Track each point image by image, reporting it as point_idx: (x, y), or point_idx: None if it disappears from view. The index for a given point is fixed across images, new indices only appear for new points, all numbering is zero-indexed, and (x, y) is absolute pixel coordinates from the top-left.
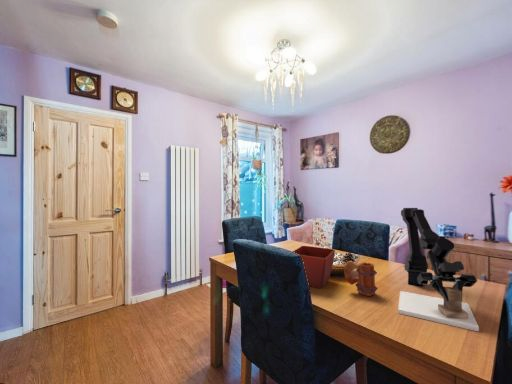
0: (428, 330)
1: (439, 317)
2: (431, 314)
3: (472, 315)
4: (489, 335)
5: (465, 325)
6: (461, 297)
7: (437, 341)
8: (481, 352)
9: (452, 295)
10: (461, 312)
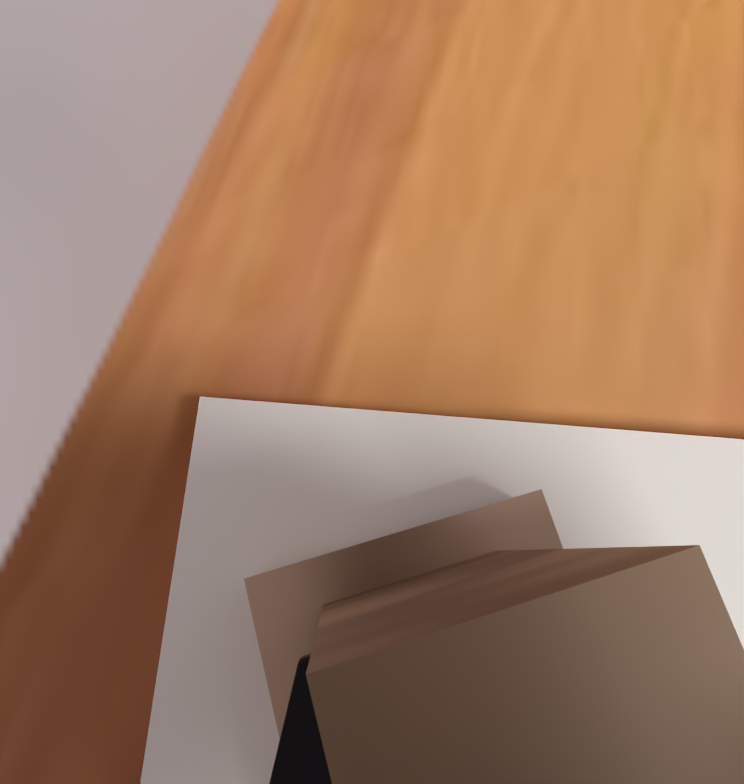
0: (664, 223)
1: (588, 459)
2: (675, 505)
3: (154, 767)
4: (132, 372)
5: (328, 411)
6: (318, 640)
7: (597, 81)
8: (309, 59)
9: (544, 568)
10: (332, 579)
